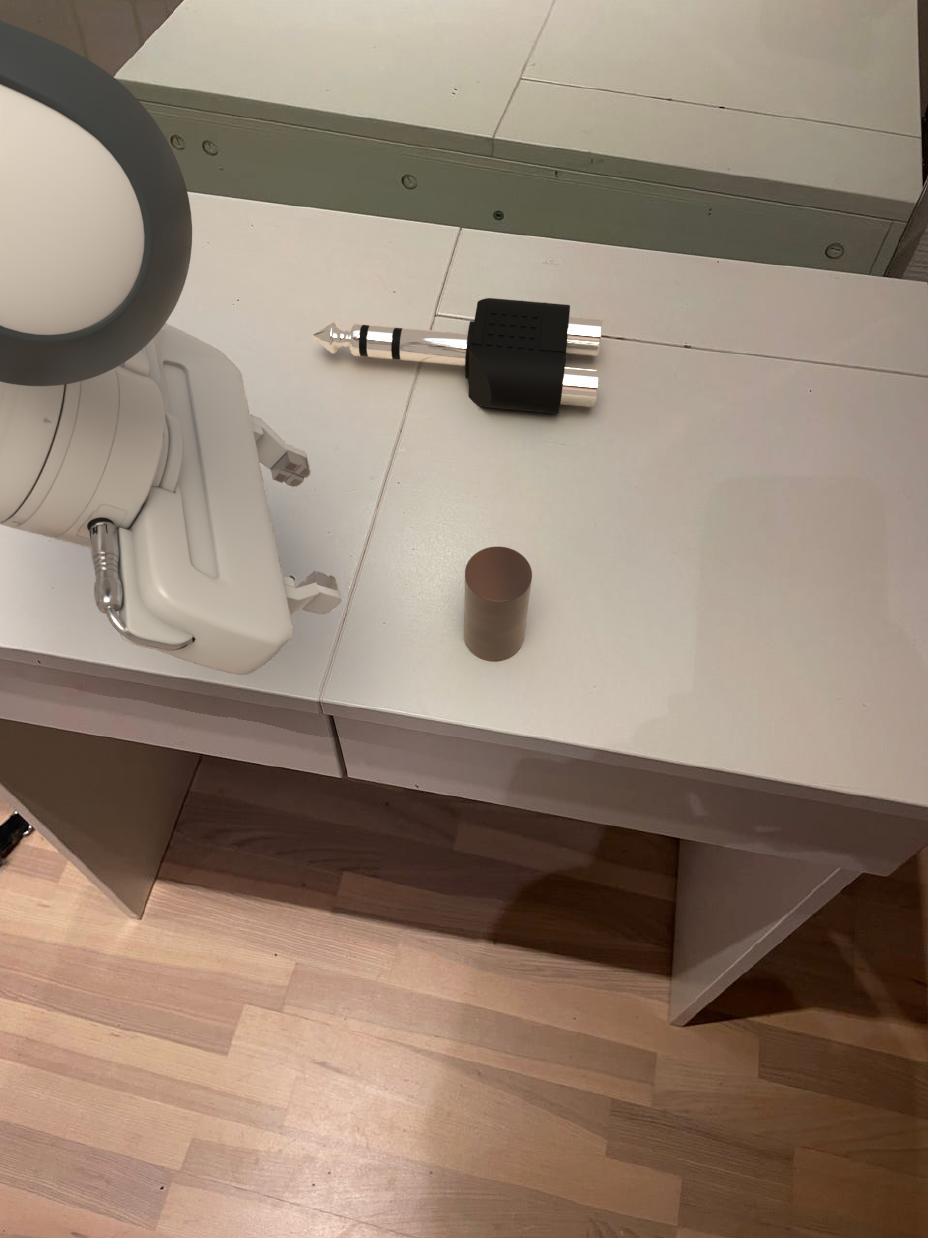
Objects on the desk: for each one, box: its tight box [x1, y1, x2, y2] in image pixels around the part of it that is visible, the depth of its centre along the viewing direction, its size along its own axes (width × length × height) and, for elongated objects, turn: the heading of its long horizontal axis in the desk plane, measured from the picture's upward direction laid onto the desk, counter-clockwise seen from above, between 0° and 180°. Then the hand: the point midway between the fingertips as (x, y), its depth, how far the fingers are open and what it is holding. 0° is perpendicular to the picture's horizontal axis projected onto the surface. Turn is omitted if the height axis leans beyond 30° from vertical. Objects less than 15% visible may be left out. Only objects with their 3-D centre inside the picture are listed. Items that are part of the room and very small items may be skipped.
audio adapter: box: [312, 297, 603, 415], centre depth 76 cm, size 11×5×25 cm
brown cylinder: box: [463, 546, 533, 662], centre depth 60 cm, size 4×4×8 cm
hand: (317, 531), depth 51 cm, fingers open, 8 cm apart
